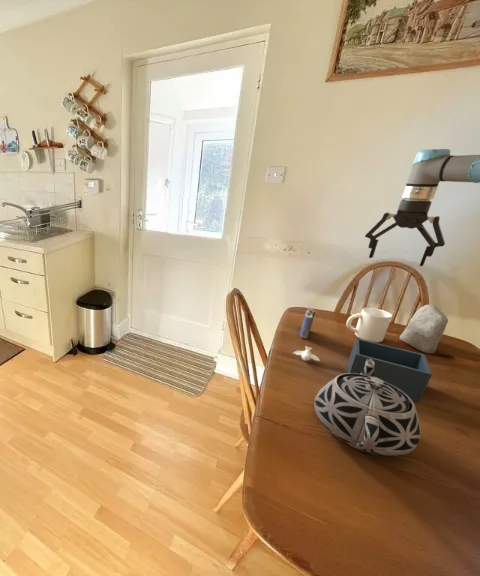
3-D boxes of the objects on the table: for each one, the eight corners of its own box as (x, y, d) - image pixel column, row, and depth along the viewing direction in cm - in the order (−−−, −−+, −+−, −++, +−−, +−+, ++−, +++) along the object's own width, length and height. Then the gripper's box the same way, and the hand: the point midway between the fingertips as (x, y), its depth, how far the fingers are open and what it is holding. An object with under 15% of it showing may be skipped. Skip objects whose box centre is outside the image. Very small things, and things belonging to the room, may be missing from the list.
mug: (346, 339, 115) (354, 314, 111) (339, 328, 122) (346, 304, 118) (387, 344, 111) (396, 318, 107) (377, 333, 118) (385, 309, 114)
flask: (306, 339, 115) (313, 313, 111) (297, 337, 116) (304, 311, 113) (310, 330, 121) (317, 305, 117) (301, 328, 123) (308, 303, 119)
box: (413, 380, 93) (424, 354, 89) (419, 402, 84) (432, 374, 81) (348, 361, 102) (355, 337, 98) (347, 380, 93) (355, 354, 90)
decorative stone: (439, 355, 105) (457, 315, 99) (418, 353, 105) (435, 314, 100) (413, 338, 115) (429, 301, 109) (395, 337, 115) (409, 300, 110)
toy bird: (290, 357, 103) (294, 343, 103) (291, 355, 107) (295, 342, 107) (319, 366, 98) (323, 352, 98) (319, 364, 102) (323, 350, 102)
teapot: (403, 409, 82) (424, 361, 76) (421, 502, 59) (452, 443, 54) (316, 381, 93) (329, 337, 87) (303, 451, 70) (320, 397, 65)
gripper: (366, 198, 110) (349, 256, 118) (472, 203, 93) (444, 271, 100) (371, 196, 115) (354, 252, 123) (473, 201, 97) (446, 266, 105)
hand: (395, 261), depth 111 cm, fingers open, 13 cm apart
